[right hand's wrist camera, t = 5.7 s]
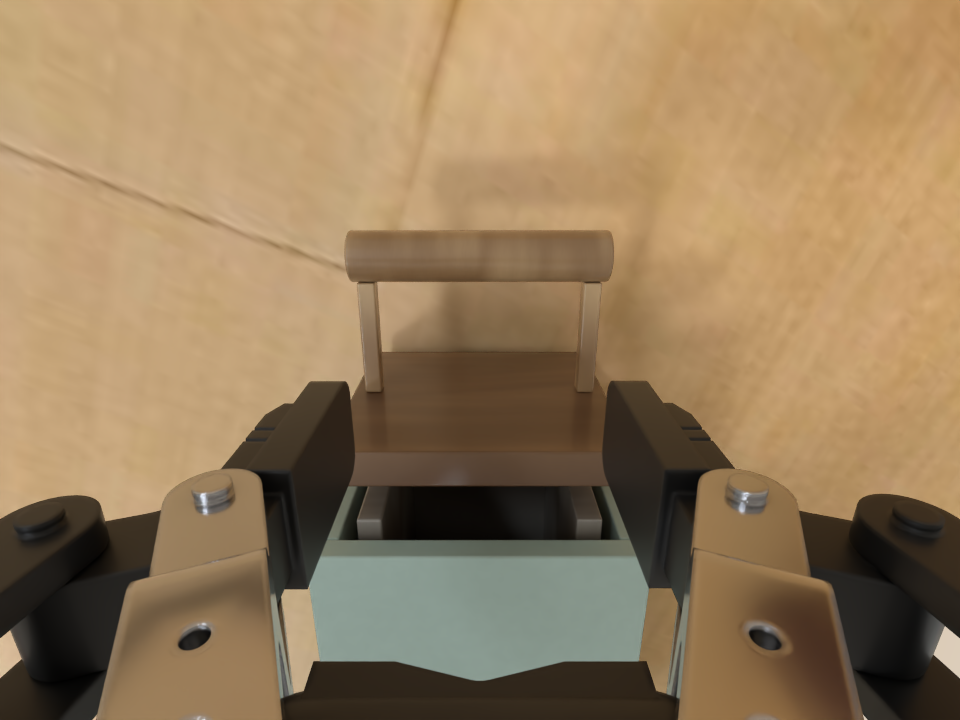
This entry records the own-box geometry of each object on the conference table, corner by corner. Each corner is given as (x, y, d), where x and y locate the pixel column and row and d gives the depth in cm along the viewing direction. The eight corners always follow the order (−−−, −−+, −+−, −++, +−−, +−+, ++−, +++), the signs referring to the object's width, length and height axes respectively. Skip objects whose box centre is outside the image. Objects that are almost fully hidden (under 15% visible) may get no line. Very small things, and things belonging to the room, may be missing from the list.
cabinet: (370, 404, 26) (303, 557, 16) (588, 404, 26) (655, 557, 16) (393, 699, 33) (357, 930, 23) (565, 699, 33) (602, 930, 23)
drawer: (365, 216, 22) (298, 254, 14) (593, 216, 22) (659, 254, 14) (398, 661, 31) (368, 845, 22) (561, 661, 31) (590, 844, 22)
